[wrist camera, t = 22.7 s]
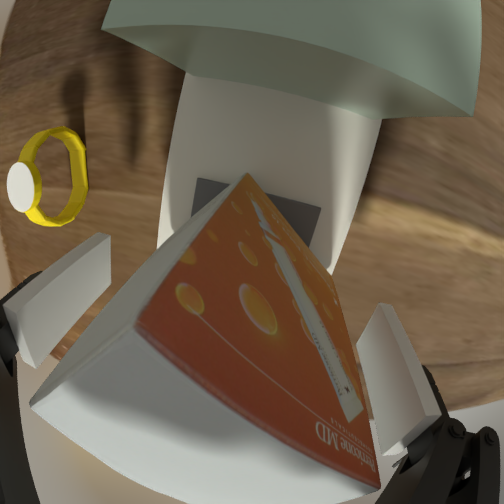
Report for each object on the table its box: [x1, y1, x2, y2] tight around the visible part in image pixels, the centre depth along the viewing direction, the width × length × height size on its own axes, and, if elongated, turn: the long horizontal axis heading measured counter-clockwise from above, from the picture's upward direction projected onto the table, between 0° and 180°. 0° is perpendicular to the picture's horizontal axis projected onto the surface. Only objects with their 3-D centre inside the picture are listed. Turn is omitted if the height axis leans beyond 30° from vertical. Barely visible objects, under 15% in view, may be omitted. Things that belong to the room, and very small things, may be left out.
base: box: [157, 72, 382, 275], centre depth 14 cm, size 11×26×1 cm, turn 167°
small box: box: [29, 173, 381, 504], centre depth 11 cm, size 8×6×13 cm
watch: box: [7, 126, 89, 226], centre depth 13 cm, size 6×3×6 cm, turn 179°
